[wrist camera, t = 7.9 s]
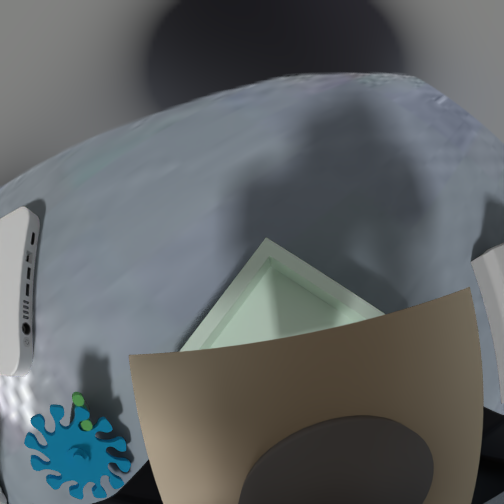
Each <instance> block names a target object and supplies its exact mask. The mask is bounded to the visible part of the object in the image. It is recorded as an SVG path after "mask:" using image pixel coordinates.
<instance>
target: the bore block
mask: <svg viewBox="0 0 504 504" xmlns="http://www.w3.org/2000/svg"><path fill="white" fill-rule="evenodd" d="M129 362H130V369H131V376H132V383H133V389H134V395H135V400H136V406H137V411H138V416H139V420H140V425H141V429H142V434H143V438H144V442H145V446H146V450H147V454H148V457H149V461H150V464H151V468H152V471H153V474H154V478H155V481H156V484H157V487H158V490H159V493H160V496H161V499H162V501H163V504H471V502H472V498H473V493H474V489H475V484H476V479H477V473H478V467H479V460H480V452H481V442H482V429H483V374H482V360H481V350H480V342H479V334H478V327H477V321H476V315H475V310H474V305H473V300H472V295H471V291H470V287H468V288H466V289H463V290H460V291H457V292H455V293H452V294H449V295H446V296H443V297H440V298H438V299H435V300H432V301H429V302H425V303H422V304H419V305H416V306H413V307H410V308H406V309H403V310H399V311H396V312H393V313H389V314H385V315H382V316H378V317H374V318H371V319H367V320H363V321H359V322H355V323H351V324H347V325H343V326H338V327H334V328H329V329H325V330H320V331H316V332H311V333H306V334H301V335H296V336H290V337H285V338H279V339H274V340H268V341H262V342H255V343H249V344H242V345H235V346H227V347H219V348H211V349H202V350H193V351H182V352H170V353H157V354H140V355H129Z"/></svg>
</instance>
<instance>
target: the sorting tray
mask: <svg viewBox="0 0 504 504" xmlns="http://www.w3.org/2000/svg"><path fill="white" fill-rule="evenodd" d="M382 315H385V314H384V313H383V312H381V311H380V310H378V309H377V308H375V307H374V306H372V305H371V304H369V303H368V302H366V301H365V300H363V299H361V298H360V297H358V296H357V295H355V294H354V293H352V292H351V291H349V290H348V289H346V288H345V287H343V286H342V285H340V284H339V283H337V282H335V281H334V280H332V279H331V278H329V277H328V276H326V275H325V274H323V273H322V272H320V271H318V270H317V269H315V268H314V267H312V266H311V265H309V264H307V263H306V262H304V261H303V260H301V259H300V258H298V257H297V256H295V255H293V254H292V253H290V252H289V251H287V250H285V249H284V248H282V247H281V246H279V245H278V244H276V243H274V242H273V241H271V240H270V239H268V238H265V239H264V241H263V242H262V243H261V245H260V246H259V247H258V249H257V250H256V251H255V253H254V254H253V255H252V257H251V258H250V259H249V261H248V262H247V263H246V265H245V266H244V267H243V268H242V270H241V271H240V272H239V274H238V275H237V276H236V278H235V279H234V280H233V282H232V283H231V284H230V286H229V287H228V288H227V290H226V291H225V292H224V293H223V295H222V296H221V297H220V299H219V300H218V301H217V303H216V304H215V305H214V307H213V308H212V309H211V311H210V312H209V313H208V315H207V316H206V317H205V318H204V320H203V321H202V322H201V324H200V325H199V326H198V328H197V329H196V330H195V332H194V333H193V334H192V336H191V337H190V338H189V339H188V341H187V342H186V343H185V345H184V346H183V347H182V349H181V350H180V351H179V352H182V351H193V350H202V349H211V348H219V347H227V346H235V345H242V344H249V343H255V342H262V341H268V340H274V339H279V338H285V337H290V336H296V335H301V334H306V333H311V332H316V331H320V330H325V329H329V328H334V327H338V326H343V325H347V324H351V323H355V322H359V321H363V320H367V319H371V318H374V317H378V316H382Z"/></svg>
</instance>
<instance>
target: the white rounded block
mask: <svg viewBox="0 0 504 504" xmlns="http://www.w3.org/2000/svg"><path fill="white" fill-rule="evenodd" d="M471 265H472V267H473V270H474V273H475V276H476V279H477V282H478V285H479V288H480V291H481V294H482V298H483V301H484V305H485V308H486V312H487V316H488V320H489V324H490V329H491V333H492V338H493V343H494V348H495V353H496V359H497V366H498V373H499V381H500V392H501V404H502V403H504V243H501V244H499V245H497V246H494V247H492V248H490V249H487V250H486V251H485V252H484V253H483V254H482V255H481V256H479V257H477V258H476V259H474V260H473V261H471Z"/></svg>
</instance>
